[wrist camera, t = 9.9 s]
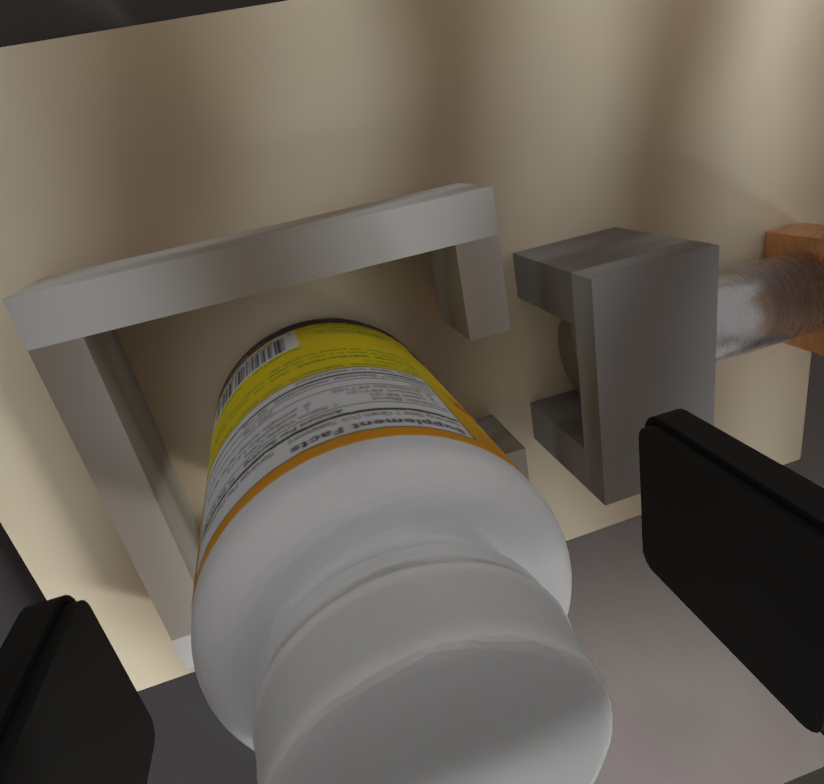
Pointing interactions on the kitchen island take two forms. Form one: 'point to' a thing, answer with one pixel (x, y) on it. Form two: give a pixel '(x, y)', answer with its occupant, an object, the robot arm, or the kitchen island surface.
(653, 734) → the kitchen island surface
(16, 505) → the dock
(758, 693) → the kitchen island surface
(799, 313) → the lock pin
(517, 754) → the supplement bottle
